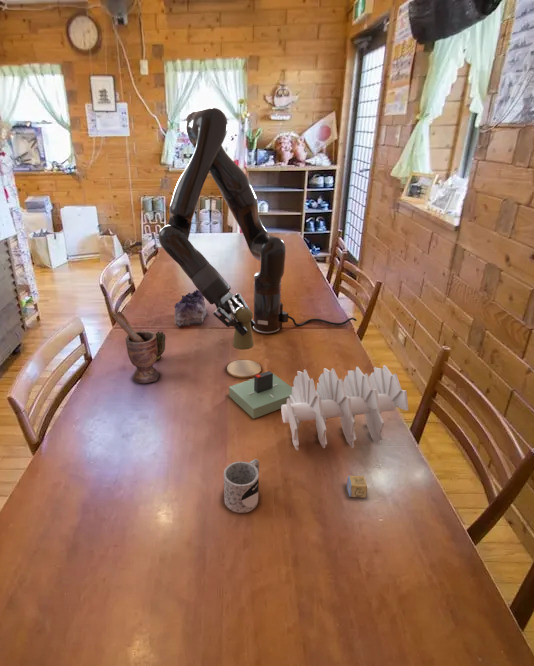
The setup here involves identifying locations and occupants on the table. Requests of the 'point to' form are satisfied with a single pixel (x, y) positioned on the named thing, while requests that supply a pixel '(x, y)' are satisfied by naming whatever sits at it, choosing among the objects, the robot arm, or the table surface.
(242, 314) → the olive round-headed cylinder
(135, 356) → the mortar and pestle
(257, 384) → the black block red tip
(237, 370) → the coaster
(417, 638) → the table surface
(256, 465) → the grey thin strip
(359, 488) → the alphabet block
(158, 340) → the ornate metal bell
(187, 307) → the geode
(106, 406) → the table surface
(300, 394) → the spiral staircase
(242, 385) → the control panel
